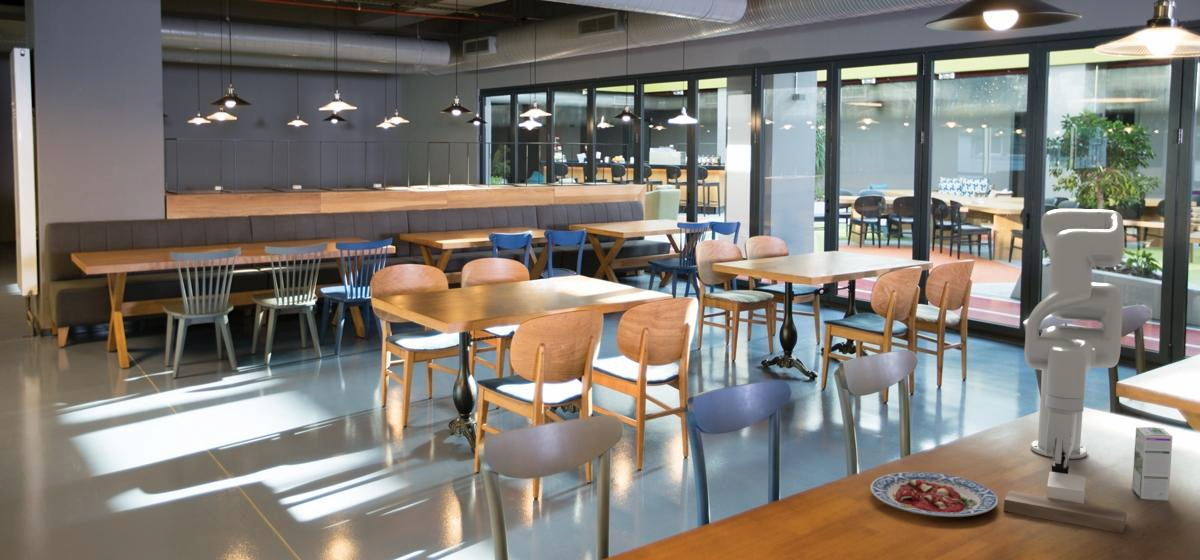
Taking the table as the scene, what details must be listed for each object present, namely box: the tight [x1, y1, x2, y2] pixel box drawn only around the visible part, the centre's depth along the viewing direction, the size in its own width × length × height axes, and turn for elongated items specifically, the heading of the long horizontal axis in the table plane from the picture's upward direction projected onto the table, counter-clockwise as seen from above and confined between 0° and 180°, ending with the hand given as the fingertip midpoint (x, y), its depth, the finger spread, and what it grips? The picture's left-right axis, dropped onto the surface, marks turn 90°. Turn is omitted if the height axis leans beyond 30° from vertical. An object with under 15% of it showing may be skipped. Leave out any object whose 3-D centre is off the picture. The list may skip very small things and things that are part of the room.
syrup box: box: [1132, 426, 1173, 501], centre depth 207 cm, size 6×6×14 cm
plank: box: [1003, 490, 1128, 534], centre depth 197 cm, size 6×22×2 cm, turn 57°
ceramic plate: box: [870, 471, 999, 518], centre depth 206 cm, size 26×26×3 cm
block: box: [1046, 471, 1086, 504], centre depth 204 cm, size 10×7×5 cm
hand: (1059, 482), depth 211 cm, fingers closed
